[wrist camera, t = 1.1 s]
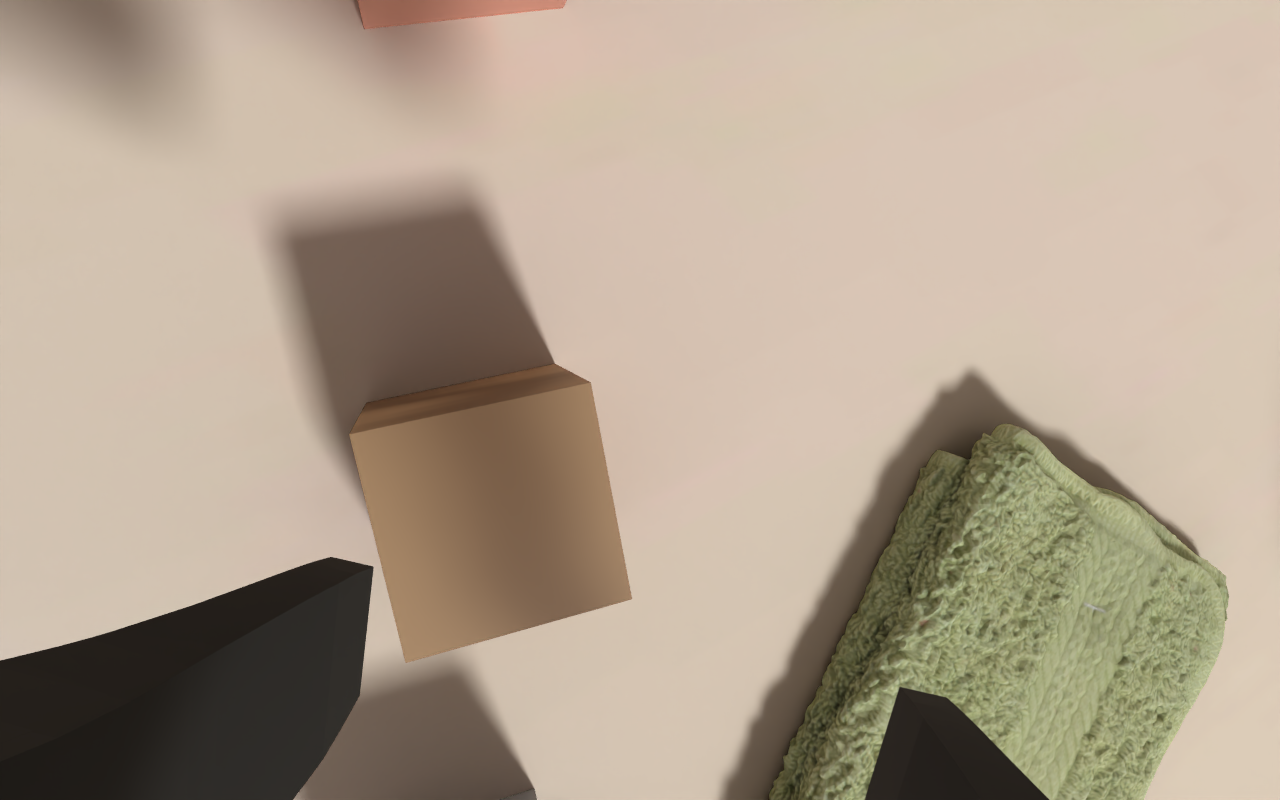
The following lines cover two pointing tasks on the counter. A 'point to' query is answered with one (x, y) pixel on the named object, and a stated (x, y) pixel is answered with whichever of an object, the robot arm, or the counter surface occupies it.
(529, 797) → the slate grey block
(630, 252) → the counter surface
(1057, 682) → the washcloth
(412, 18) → the brick red block
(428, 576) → the walnut block
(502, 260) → the counter surface
